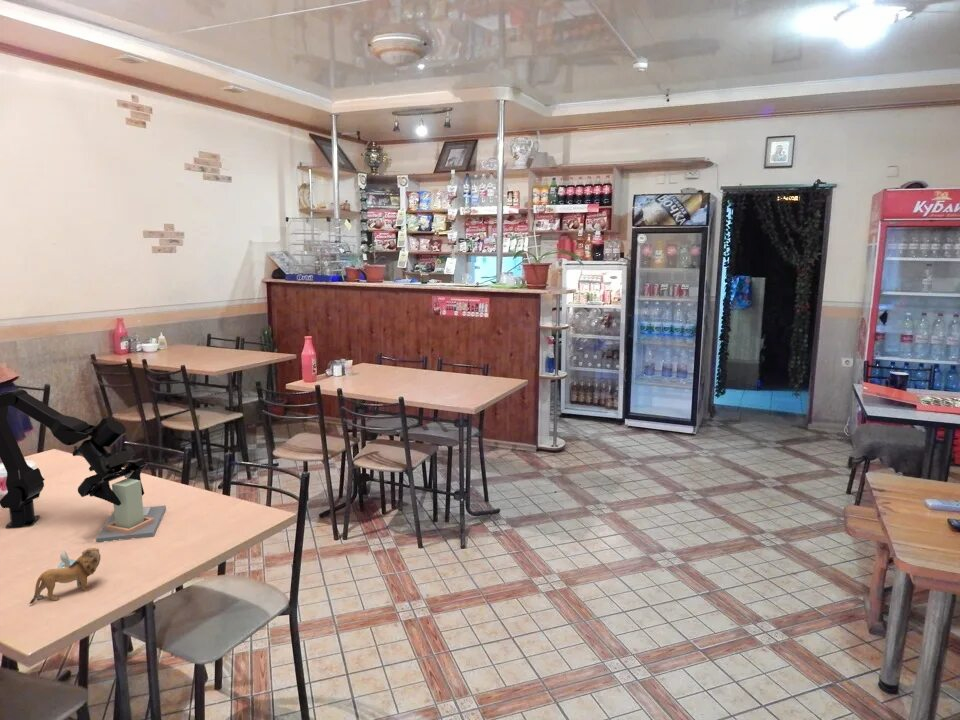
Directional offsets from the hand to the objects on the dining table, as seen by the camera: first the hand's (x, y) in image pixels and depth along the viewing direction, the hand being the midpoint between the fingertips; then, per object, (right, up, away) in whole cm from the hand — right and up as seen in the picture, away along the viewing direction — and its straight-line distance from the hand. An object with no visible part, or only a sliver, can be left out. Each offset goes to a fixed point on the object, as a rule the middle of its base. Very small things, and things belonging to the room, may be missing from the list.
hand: (131, 499), depth 173 cm
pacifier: (-2, -13, -22) cm, 26 cm away
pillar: (-2, -8, +2) cm, 8 cm away
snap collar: (-1, -8, +2) cm, 8 cm away
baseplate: (-3, -9, +5) cm, 10 cm away
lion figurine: (+3, -15, -30) cm, 34 cm away
